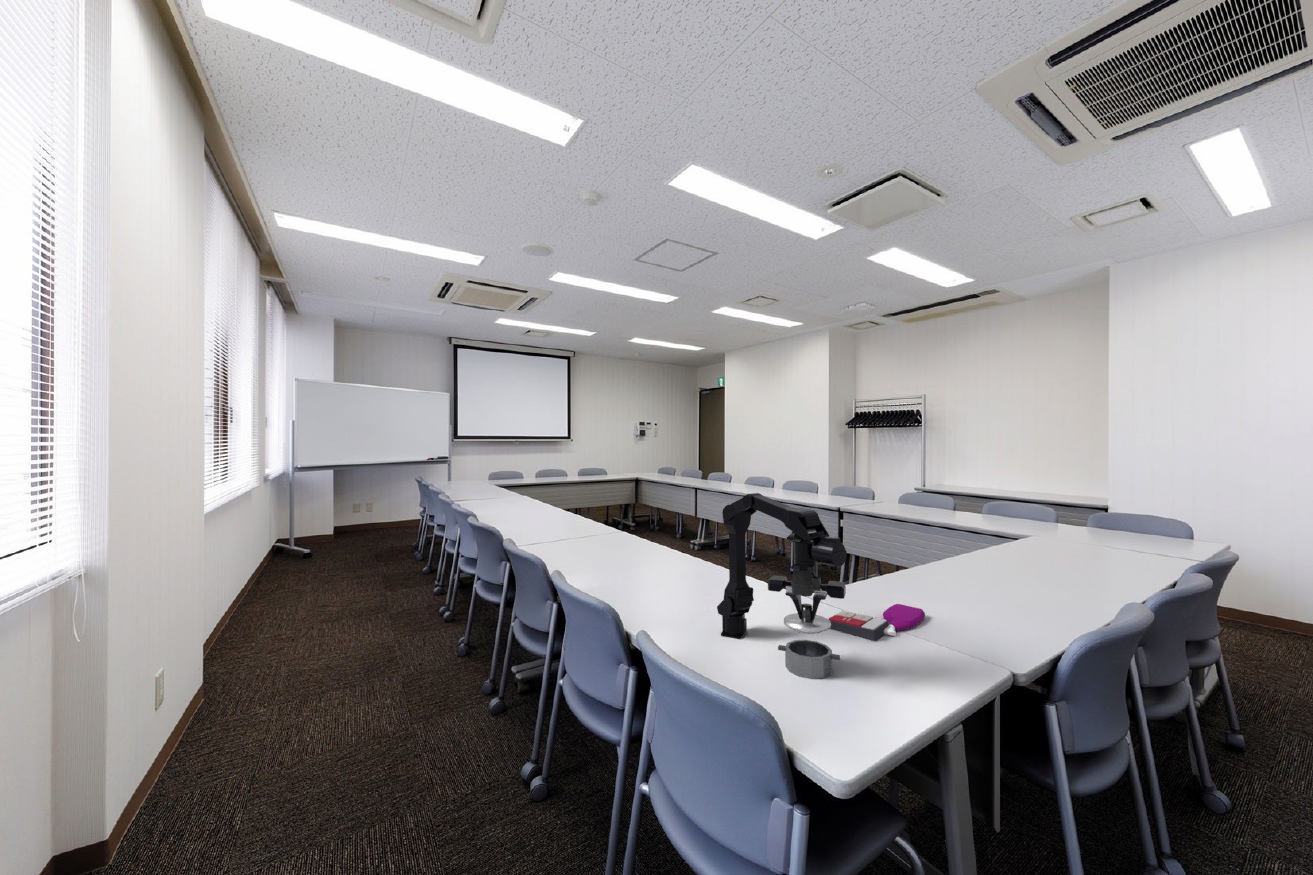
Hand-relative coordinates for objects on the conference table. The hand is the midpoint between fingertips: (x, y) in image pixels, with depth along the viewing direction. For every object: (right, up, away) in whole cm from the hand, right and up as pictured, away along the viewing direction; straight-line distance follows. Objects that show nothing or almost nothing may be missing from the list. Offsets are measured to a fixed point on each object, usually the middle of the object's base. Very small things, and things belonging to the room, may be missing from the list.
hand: (807, 619), depth 124 cm
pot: (0, -12, 0) cm, 12 cm away
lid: (0, -2, 0) cm, 2 cm away
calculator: (+24, -13, +25) cm, 37 cm away
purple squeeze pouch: (+38, -13, +29) cm, 49 cm away
